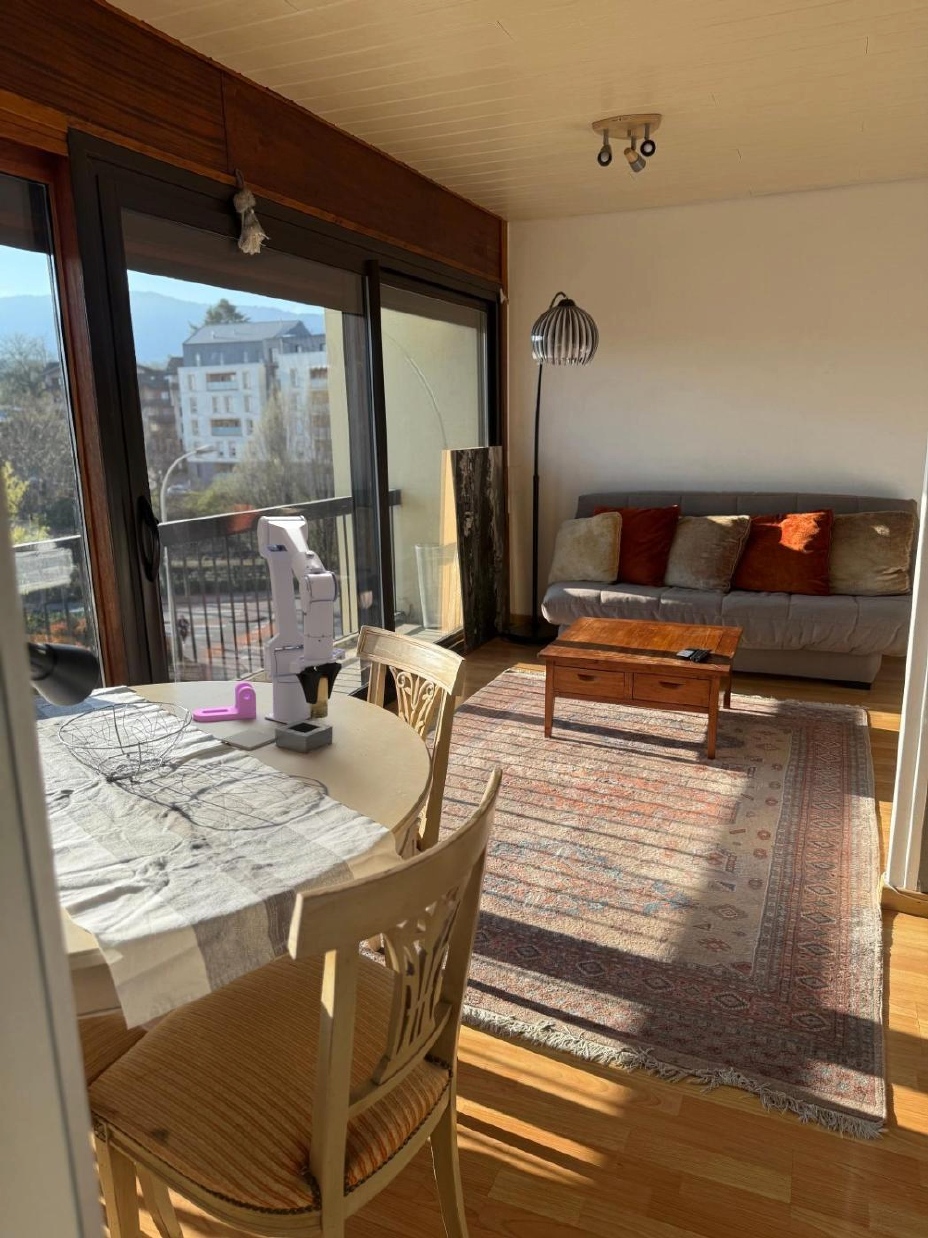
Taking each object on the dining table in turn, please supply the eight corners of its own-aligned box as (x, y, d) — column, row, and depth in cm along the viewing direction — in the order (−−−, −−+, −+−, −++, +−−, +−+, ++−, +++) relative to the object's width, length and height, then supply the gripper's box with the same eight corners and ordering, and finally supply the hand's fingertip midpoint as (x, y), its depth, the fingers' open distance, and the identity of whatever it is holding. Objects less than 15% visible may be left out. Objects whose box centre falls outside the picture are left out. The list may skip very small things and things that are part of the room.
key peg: (317, 711, 176) (317, 673, 174) (331, 714, 174) (331, 676, 173) (305, 716, 173) (305, 677, 171) (320, 719, 171) (320, 680, 170)
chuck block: (302, 735, 181) (302, 718, 180) (332, 742, 177) (332, 726, 176) (275, 745, 174) (275, 728, 173) (305, 754, 170) (305, 737, 169)
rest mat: (250, 731, 182) (250, 728, 181) (278, 739, 177) (278, 736, 177) (220, 742, 175) (220, 739, 175) (249, 750, 171) (249, 747, 171)
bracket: (252, 710, 196) (252, 680, 195) (256, 718, 191) (255, 687, 190) (192, 715, 191) (191, 684, 190) (194, 723, 186) (193, 691, 185)
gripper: (309, 643, 162) (309, 713, 165) (357, 630, 174) (356, 695, 177) (281, 638, 166) (281, 706, 169) (330, 625, 178) (329, 689, 181)
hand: (318, 700), depth 173 cm, fingers closed on key peg, 4 cm apart
